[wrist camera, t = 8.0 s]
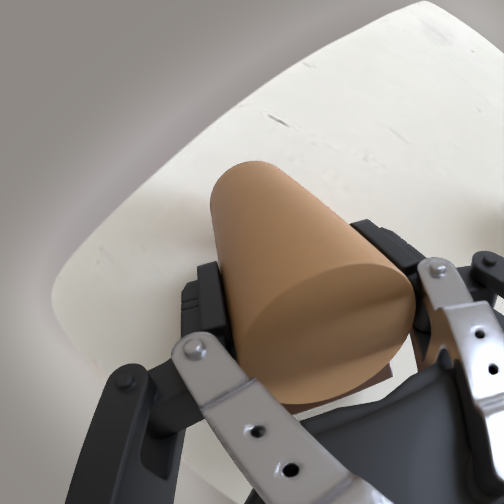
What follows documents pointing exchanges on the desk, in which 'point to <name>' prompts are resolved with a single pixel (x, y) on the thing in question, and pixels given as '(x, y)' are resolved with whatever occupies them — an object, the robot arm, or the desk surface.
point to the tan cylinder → (303, 288)
